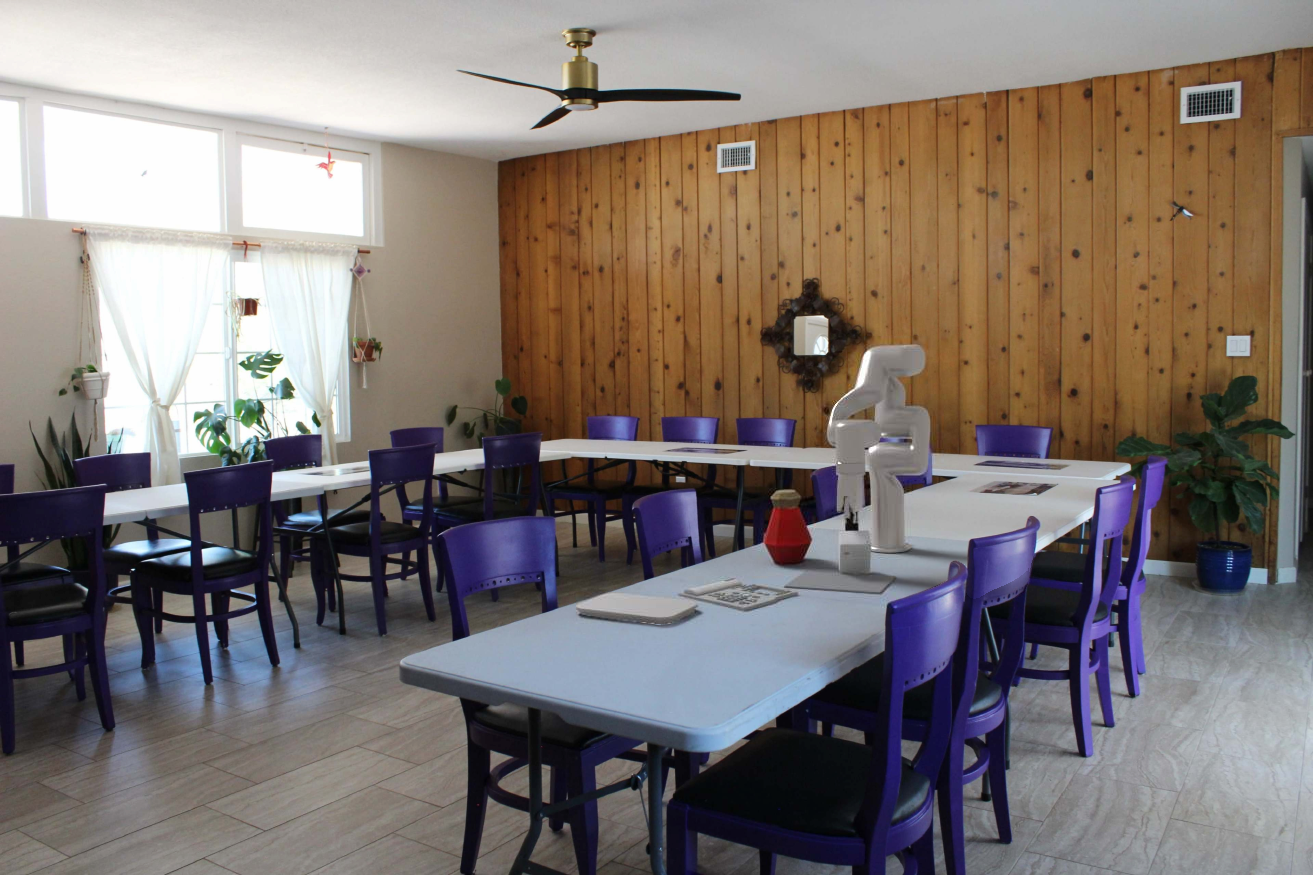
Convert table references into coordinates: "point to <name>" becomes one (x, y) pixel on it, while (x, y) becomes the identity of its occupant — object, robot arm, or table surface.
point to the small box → (854, 552)
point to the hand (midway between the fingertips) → (852, 537)
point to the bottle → (787, 529)
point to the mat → (841, 582)
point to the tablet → (637, 608)
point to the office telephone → (737, 594)
